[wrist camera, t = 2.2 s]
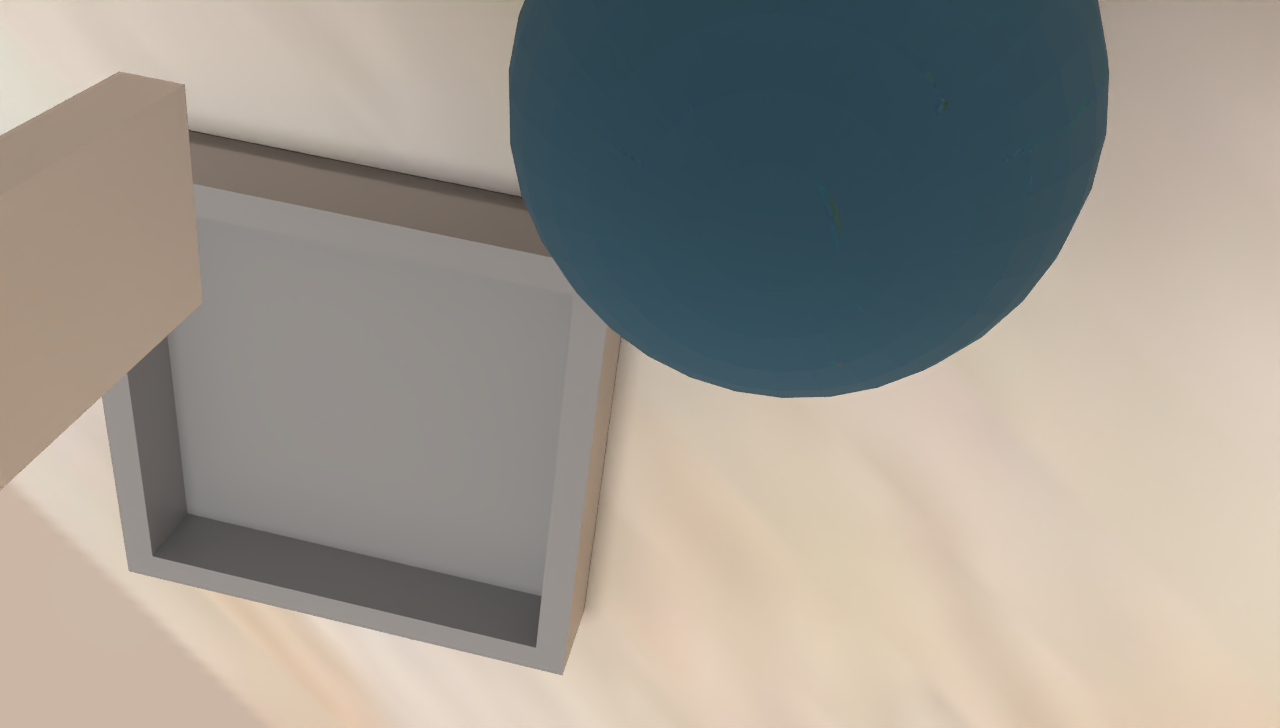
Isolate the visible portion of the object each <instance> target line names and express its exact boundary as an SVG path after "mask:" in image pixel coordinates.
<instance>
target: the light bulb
mask: <svg viewBox="0 0 1280 728" xmlns="http://www.w3.org/2000/svg"><path fill="white" fill-rule="evenodd" d="M1108 83H1109V69H1108V58H1107V50H1106V44H1105V38H1104V33H1103V27H1102V21H1101V15H1100V10H1099V4H1098V0H525V1H524V4H523V6H522V9H521V11H520V14H519V17H518V23H517V28H516V34H515V39H514V45H513V51H512V56H511V62H510V67H509V99H510V145H511V149H512V154H513V158H514V163H515V168H516V172H517V177H518V181H519V186H520V190H521V195H522V197H523V200H524V202H525V204H526V207H527V209H528V211H529V213H530V216H531V218H532V220H533V223H534V225H535V227H536V230H537V232H538V234H539V237H540V239H541V241H542V243H543V244H544V246H545V247H546V249H547V250H548V252H549V253H550V255H551V256H552V258H553V259H554V261H555V262H556V264H557V265H558V267H559V268H560V270H561V271H562V273H563V274H564V276H565V277H566V279H567V280H568V282H569V283H570V285H571V286H572V287H573V289H574V290H575V291H576V293H577V294H578V295H579V296H580V297H581V298H582V299H583V300H584V301H585V303H586V304H587V305H588V306H589V307H590V308H591V309H592V310H593V311H594V312H595V313H596V314H597V315H598V316H599V317H600V318H601V319H602V320H603V321H604V322H605V323H606V324H607V325H608V326H609V328H611V329H612V330H613V331H615V332H616V333H617V334H619V335H620V336H622V337H623V338H624V339H626V340H627V341H628V342H630V343H631V344H632V345H634V346H635V347H636V348H638V349H639V350H641V351H642V352H643V353H645V354H646V355H647V356H649V357H651V358H653V359H655V360H657V361H659V362H661V363H663V364H665V365H667V366H669V367H671V368H673V369H675V370H677V371H679V372H681V373H683V374H685V375H687V376H689V377H691V378H695V379H698V380H701V381H704V382H707V383H711V384H714V385H717V386H720V387H723V388H727V389H730V390H733V391H738V392H745V393H752V394H759V395H766V396H773V397H780V398H793V397H831V396H836V395H841V394H846V393H852V392H857V391H862V390H867V389H873V388H878V387H880V386H883V385H886V384H888V383H891V382H894V381H896V380H899V379H902V378H904V377H907V376H910V375H912V374H915V373H918V372H920V371H923V370H925V369H927V368H929V367H931V366H933V365H935V364H937V363H939V362H940V361H942V360H944V359H946V358H947V357H949V356H951V355H952V354H954V353H956V352H957V351H959V350H961V349H962V348H964V347H966V346H967V345H969V344H971V343H972V342H974V341H976V340H978V339H979V338H981V337H982V336H984V335H985V334H986V333H987V332H988V331H989V330H990V329H992V328H993V327H994V326H995V325H996V324H997V323H998V322H1000V321H1001V320H1002V319H1003V318H1004V317H1005V316H1007V315H1008V314H1009V313H1010V312H1011V311H1012V310H1013V309H1015V308H1016V307H1017V306H1018V305H1019V304H1020V303H1021V302H1022V301H1023V300H1024V299H1025V298H1026V296H1027V295H1028V294H1029V293H1030V291H1031V290H1032V289H1033V287H1034V286H1035V285H1036V284H1037V282H1038V281H1039V280H1040V278H1041V277H1042V276H1043V275H1044V273H1045V272H1046V271H1047V269H1048V268H1049V267H1050V266H1051V264H1052V263H1053V262H1054V260H1055V259H1056V257H1057V256H1058V254H1059V252H1060V250H1061V248H1062V246H1063V245H1064V243H1065V241H1066V239H1067V237H1068V235H1069V233H1070V231H1071V229H1072V227H1073V225H1074V223H1075V221H1076V219H1077V217H1078V215H1079V213H1080V211H1081V209H1082V207H1083V205H1084V203H1085V201H1086V199H1087V197H1088V195H1089V193H1090V191H1091V189H1092V185H1093V181H1094V177H1095V174H1096V170H1097V166H1098V162H1099V158H1100V155H1101V151H1102V147H1103V143H1104V140H1105V136H1106V127H1107V105H1108Z"/></svg>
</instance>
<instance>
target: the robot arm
mask: <svg viewBox="0 0 1280 728" xmlns="http://www.w3.org/2000/svg"><path fill="white" fill-rule="evenodd" d="M202 303H203V300H202V288H201V276H200V264H199V252H198V240H197V228H196V215H195V203H194V191H193V179H192V167H191V155H190V143H189V131H188V118H187V106H186V94H185V85H184V84H179V83H174V82H169V81H164V80H159V79H154V78H149V77H144V76H139V75H134V74H129V73H124V72H118V73H116V74H114V75H112V76H110V77H109V78H107V79H105V80H103V81H101V82H99V83H97V84H96V85H94V86H92V87H90V88H88V89H86V90H84V91H83V92H81V93H79V94H77V95H75V96H73V97H71V98H70V99H68V100H66V101H64V102H62V103H60V104H58V105H57V106H55V107H53V108H51V109H49V110H47V111H45V112H44V113H42V114H40V115H38V116H36V117H34V118H32V119H30V120H29V121H27V122H25V123H23V124H21V125H19V126H17V127H16V128H14V129H12V130H10V131H8V132H6V133H4V134H3V135H1V136H0V490H1V489H2V488H3V487H4V486H5V485H7V484H8V483H9V482H10V481H11V480H12V479H13V478H14V477H15V476H16V475H17V474H18V473H19V472H21V471H22V470H23V469H24V468H25V467H26V466H27V465H28V464H29V463H30V462H31V461H32V460H34V459H35V458H36V457H37V456H38V455H39V454H40V453H41V452H42V451H43V450H44V449H45V448H46V447H48V446H49V445H50V444H51V443H52V442H53V441H54V440H55V439H56V438H57V437H58V436H59V435H60V434H62V433H63V432H64V431H65V430H66V429H67V428H68V427H69V426H70V425H71V424H72V423H73V422H74V421H76V420H77V419H78V418H79V417H80V416H81V415H82V414H83V413H84V412H85V411H86V410H87V409H89V408H90V407H91V406H92V405H93V404H94V403H95V402H96V401H97V400H98V399H99V398H100V397H101V396H103V395H104V394H105V393H106V392H107V391H108V390H109V389H110V388H111V387H112V386H113V385H114V384H115V383H117V382H118V381H119V380H120V379H121V378H122V377H123V376H124V375H125V374H126V373H127V372H128V371H129V370H131V369H132V368H133V367H134V366H135V365H136V364H137V363H138V362H139V361H140V360H141V359H142V358H144V357H145V356H146V355H147V354H148V353H149V352H150V351H151V350H152V349H153V348H154V347H155V346H156V345H158V344H159V343H160V342H161V341H162V340H163V339H164V338H165V337H166V336H167V335H168V334H169V333H170V332H172V331H173V330H174V329H175V328H176V327H177V326H178V325H179V324H180V323H181V322H182V321H183V320H184V319H186V318H187V317H188V316H189V315H190V314H191V313H192V312H193V311H194V310H195V309H196V308H197V307H199V306H200V305H201V304H202Z"/></svg>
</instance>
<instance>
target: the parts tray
mask: <svg viewBox="0 0 1280 728" xmlns="http://www.w3.org/2000/svg"><path fill="white" fill-rule="evenodd" d="M189 143H190V155H191V167H192V179H193V191H194V203H195V215H196V228H197V240H198V252H199V264H200V276H201V288H202V300H203V303H202V304H201V305H200V306H199V307H197V308H196V309H195V310H194V311H193V312H192V313H191V314H190V315H189V316H188V317H187V318H186V319H184V320H183V321H182V322H181V323H180V324H179V325H178V326H177V327H176V328H175V329H174V330H173V331H172V332H170V333H169V334H168V335H167V336H166V337H165V338H164V339H163V340H162V341H161V342H160V343H159V344H158V345H156V346H155V347H154V348H153V349H152V350H151V351H150V352H149V353H148V354H147V355H146V356H145V357H144V358H142V359H141V360H140V361H139V362H138V363H137V364H136V365H135V366H134V367H133V368H132V369H131V370H129V371H128V372H127V373H126V374H125V375H124V376H123V377H122V378H121V379H120V380H119V381H118V382H117V383H115V384H114V385H113V386H112V387H111V388H110V389H109V390H108V391H107V392H106V393H105V394H104V395H103V396H102V400H103V407H104V413H105V420H106V426H107V433H108V439H109V446H110V452H111V459H112V465H113V472H114V478H115V485H116V491H117V498H118V504H119V511H120V517H121V523H122V530H123V536H124V543H125V549H126V556H127V562H128V569H129V571H131V572H135V573H139V574H143V575H147V576H151V577H156V578H160V579H164V580H168V581H172V582H176V583H181V584H185V585H189V586H193V587H197V588H201V589H205V590H210V591H214V592H218V593H222V594H226V595H230V596H235V597H239V598H243V599H247V600H251V601H255V602H260V603H264V604H268V605H272V606H276V607H280V608H285V609H289V610H293V611H297V612H301V613H305V614H310V615H314V616H318V617H322V618H326V619H330V620H335V621H339V622H343V623H347V624H351V625H355V626H360V627H364V628H368V629H372V630H376V631H380V632H385V633H389V634H393V635H397V636H401V637H405V638H409V639H414V640H418V641H422V642H426V643H430V644H434V645H439V646H443V647H447V648H451V649H455V650H459V651H464V652H468V653H472V654H476V655H480V656H484V657H489V658H493V659H497V660H501V661H505V662H509V663H514V664H518V665H522V666H526V667H530V668H534V669H539V670H543V671H547V672H551V673H555V674H559V675H563V672H564V669H565V666H566V663H567V660H568V657H569V654H570V651H571V648H572V645H573V642H574V639H575V636H576V633H577V630H578V627H579V624H580V621H581V618H582V615H583V612H584V606H585V598H586V591H587V584H588V576H589V569H590V561H591V554H592V547H593V539H594V532H595V525H596V517H597V510H598V502H599V495H600V488H601V480H602V473H603V465H604V458H605V451H606V443H607V436H608V428H609V421H610V414H611V406H612V399H613V392H614V384H615V377H616V369H617V362H618V355H619V347H620V340H621V336H620V335H619V334H617V333H616V332H615V331H613V330H612V329H611V328H609V326H608V325H607V324H606V323H605V322H604V321H603V320H602V319H601V318H600V317H599V316H598V315H597V314H596V313H595V312H594V311H593V310H592V309H591V308H590V307H589V306H588V305H587V304H586V303H585V301H584V300H583V299H582V298H581V297H580V296H579V295H578V294H577V293H576V291H575V290H574V289H573V287H572V286H571V285H570V283H569V282H568V280H567V279H566V277H565V276H564V274H563V273H562V271H561V270H560V268H559V267H558V265H557V264H556V262H555V261H554V259H553V258H552V256H551V255H550V253H549V252H548V250H547V249H546V247H545V246H544V244H543V243H542V241H541V239H540V237H539V234H538V232H537V230H536V227H535V225H534V223H533V220H532V218H531V216H530V213H529V211H528V209H527V207H526V204H525V202H524V200H523V198H521V197H516V196H511V195H506V194H501V193H496V192H491V191H486V190H481V189H476V188H471V187H466V186H461V185H456V184H451V183H446V182H441V181H436V180H431V179H426V178H421V177H416V176H411V175H406V174H401V173H396V172H391V171H386V170H381V169H376V168H371V167H367V166H362V165H357V164H352V163H347V162H342V161H337V160H332V159H327V158H322V157H317V156H312V155H307V154H302V153H297V152H292V151H287V150H282V149H277V148H272V147H267V146H262V145H257V144H252V143H247V142H242V141H237V140H232V139H227V138H222V137H217V136H212V135H207V134H202V133H197V132H193V131H189Z"/></svg>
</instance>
